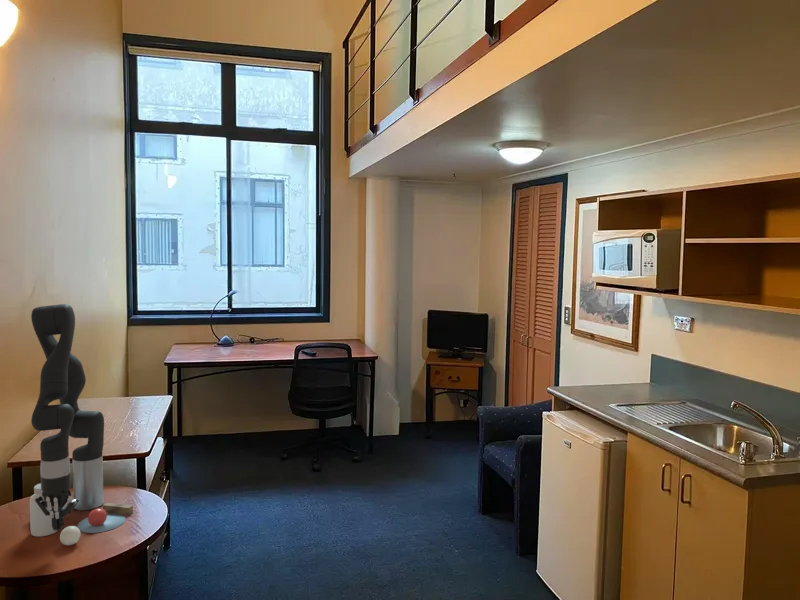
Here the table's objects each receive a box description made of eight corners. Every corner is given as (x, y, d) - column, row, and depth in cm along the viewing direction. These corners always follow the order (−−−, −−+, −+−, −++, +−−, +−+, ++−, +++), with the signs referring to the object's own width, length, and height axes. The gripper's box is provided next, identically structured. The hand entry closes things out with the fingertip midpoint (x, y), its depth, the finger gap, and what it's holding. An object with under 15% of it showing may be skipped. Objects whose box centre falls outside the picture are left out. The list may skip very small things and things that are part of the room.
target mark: (73, 520, 195) (73, 520, 195) (119, 509, 204) (119, 509, 204) (82, 537, 184) (82, 536, 184) (130, 524, 193) (130, 524, 193)
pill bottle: (26, 538, 182) (25, 491, 181) (35, 526, 190) (34, 481, 189) (55, 535, 184) (54, 489, 183) (63, 524, 192) (61, 479, 191)
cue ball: (58, 525, 179) (62, 538, 182) (57, 538, 175) (62, 551, 177) (78, 519, 181) (82, 532, 184) (77, 532, 177) (82, 545, 179)
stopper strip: (102, 512, 202) (102, 505, 201) (106, 509, 204) (106, 502, 203) (129, 515, 200) (129, 508, 200) (132, 512, 202) (132, 505, 201)
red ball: (83, 510, 191) (90, 519, 194) (86, 523, 187) (93, 532, 190) (101, 501, 193) (107, 511, 196) (104, 514, 189) (110, 524, 192)
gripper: (25, 475, 170) (28, 533, 172) (66, 479, 168) (69, 537, 169) (45, 465, 177) (47, 520, 179) (84, 469, 175) (87, 525, 177)
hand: (58, 529), depth 174 cm, fingers closed
